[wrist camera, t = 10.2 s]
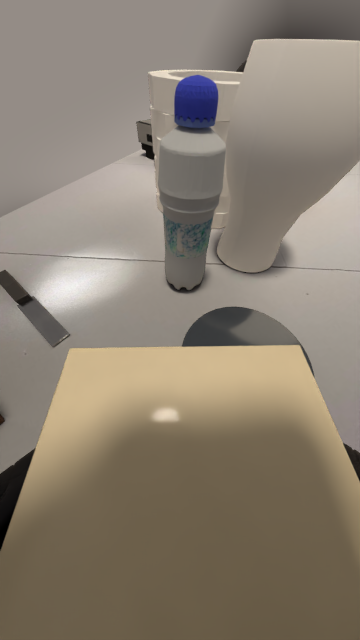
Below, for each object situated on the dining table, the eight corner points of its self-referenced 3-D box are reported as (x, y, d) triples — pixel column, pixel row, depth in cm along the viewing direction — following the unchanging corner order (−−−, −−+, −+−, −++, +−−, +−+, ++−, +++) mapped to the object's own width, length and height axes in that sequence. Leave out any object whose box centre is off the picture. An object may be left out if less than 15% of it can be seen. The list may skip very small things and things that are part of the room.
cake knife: (70, 334, 23) (66, 331, 22) (53, 347, 22) (48, 344, 21) (11, 273, 29) (6, 268, 28) (-4, 280, 28) (-10, 276, 27)
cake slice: (224, 470, 11) (450, 683, 2) (135, 474, 11) (-64, 731, 2) (215, 398, 14) (300, 344, 4) (141, 400, 14) (69, 347, 4)
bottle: (175, 262, 31) (176, 69, 14) (209, 274, 30) (254, 75, 13) (157, 286, 28) (130, 73, 11) (194, 300, 27) (229, 81, 10)
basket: (153, 227, 37) (136, 77, 21) (160, 182, 50) (153, 67, 34) (264, 231, 37) (331, 86, 21) (243, 185, 50) (276, 73, 34)
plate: (338, 403, 19) (348, 402, 18) (214, 467, 16) (216, 470, 15) (259, 300, 27) (262, 295, 26) (164, 328, 24) (164, 324, 23)
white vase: (301, 268, 31) (481, 49, 13) (233, 291, 28) (347, 36, 9) (252, 226, 38) (323, 46, 20) (193, 240, 35) (213, 39, 17)
